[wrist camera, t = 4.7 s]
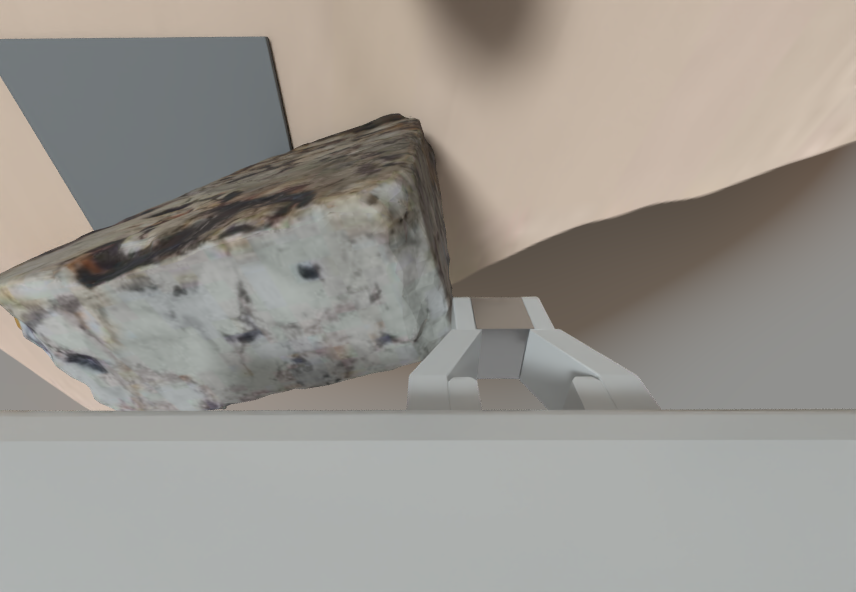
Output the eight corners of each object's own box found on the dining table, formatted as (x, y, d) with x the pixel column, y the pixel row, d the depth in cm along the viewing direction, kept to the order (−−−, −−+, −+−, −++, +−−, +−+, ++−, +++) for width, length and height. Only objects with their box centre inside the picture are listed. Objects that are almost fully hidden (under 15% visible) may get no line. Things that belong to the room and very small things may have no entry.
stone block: (303, 233, 29) (139, 450, 12) (252, 153, 25) (-79, 310, 9) (446, 178, 26) (482, 357, 10) (412, 80, 23) (379, 100, 6)
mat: (267, 37, 22) (265, 36, 21) (315, 256, 30) (314, 258, 30) (-15, 40, 22) (-22, 39, 22) (113, 255, 31) (110, 257, 30)
